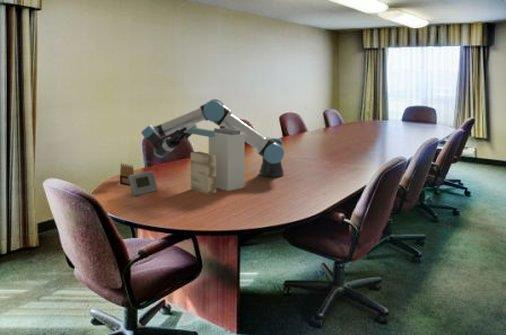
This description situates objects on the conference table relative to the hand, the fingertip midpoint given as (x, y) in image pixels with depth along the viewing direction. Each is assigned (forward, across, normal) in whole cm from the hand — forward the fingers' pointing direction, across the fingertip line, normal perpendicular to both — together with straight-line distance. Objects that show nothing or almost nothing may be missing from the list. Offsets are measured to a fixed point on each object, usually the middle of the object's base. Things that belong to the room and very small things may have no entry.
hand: (192, 125), depth 242 cm
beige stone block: (-10, 0, -34) cm, 35 cm away
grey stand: (-8, -15, -35) cm, 39 cm away
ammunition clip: (-42, +24, -16) cm, 51 cm away
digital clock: (-24, +26, -26) cm, 44 cm away
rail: (+2, 0, -6) cm, 6 cm away
